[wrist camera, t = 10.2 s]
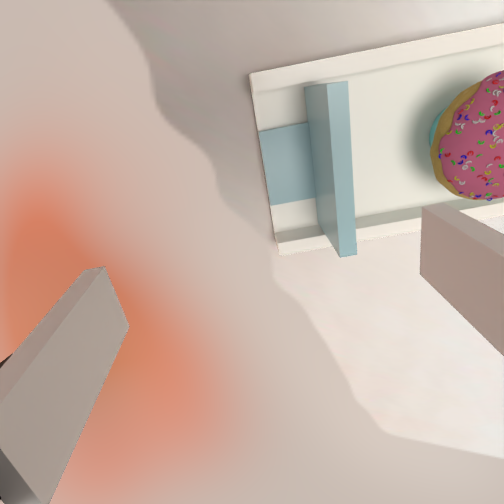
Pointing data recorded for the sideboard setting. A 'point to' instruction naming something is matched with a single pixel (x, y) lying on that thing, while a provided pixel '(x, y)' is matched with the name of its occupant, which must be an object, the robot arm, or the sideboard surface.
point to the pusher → (316, 163)
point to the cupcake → (471, 141)
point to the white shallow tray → (382, 129)
